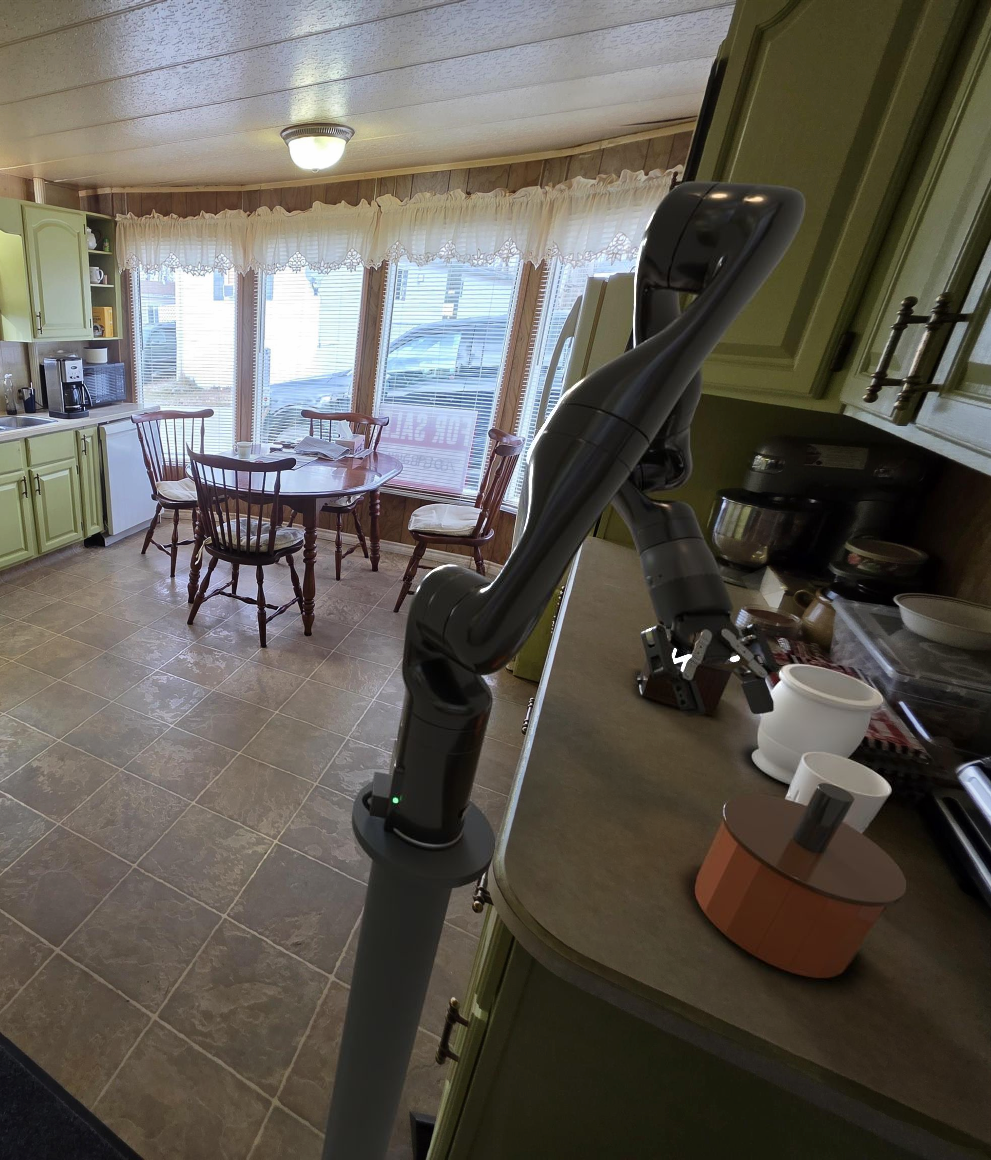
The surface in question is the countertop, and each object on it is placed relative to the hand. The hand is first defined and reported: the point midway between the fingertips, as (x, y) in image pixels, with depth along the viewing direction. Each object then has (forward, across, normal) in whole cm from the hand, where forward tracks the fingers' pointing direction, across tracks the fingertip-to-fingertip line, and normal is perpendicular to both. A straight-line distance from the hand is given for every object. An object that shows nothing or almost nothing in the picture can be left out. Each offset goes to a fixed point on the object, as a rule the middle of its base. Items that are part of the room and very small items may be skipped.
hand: (730, 714), depth 70 cm
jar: (+6, +26, +20) cm, 33 cm away
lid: (+14, 0, -3) cm, 14 cm away
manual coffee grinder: (-7, +23, +33) cm, 41 cm away
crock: (+21, 0, +4) cm, 22 cm away
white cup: (+14, +17, +12) cm, 25 cm away
